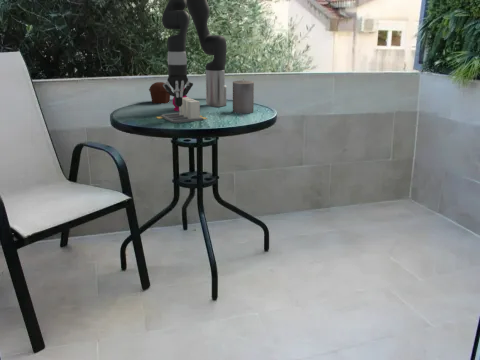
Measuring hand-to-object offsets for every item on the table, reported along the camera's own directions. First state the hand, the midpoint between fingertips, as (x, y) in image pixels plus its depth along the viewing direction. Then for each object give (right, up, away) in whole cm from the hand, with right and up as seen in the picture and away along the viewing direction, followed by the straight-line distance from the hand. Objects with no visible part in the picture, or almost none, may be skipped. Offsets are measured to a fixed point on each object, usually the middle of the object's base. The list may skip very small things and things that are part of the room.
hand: (178, 106), depth 190 cm
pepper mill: (-2, +1, +21) cm, 21 cm away
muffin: (-15, +9, +47) cm, 50 cm away
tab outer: (+6, -5, 0) cm, 8 cm away
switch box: (+1, -6, +3) cm, 6 cm away
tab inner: (+2, -3, +8) cm, 9 cm away
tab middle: (+4, -4, +4) cm, 7 cm away
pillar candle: (+27, +1, +23) cm, 35 cm away
